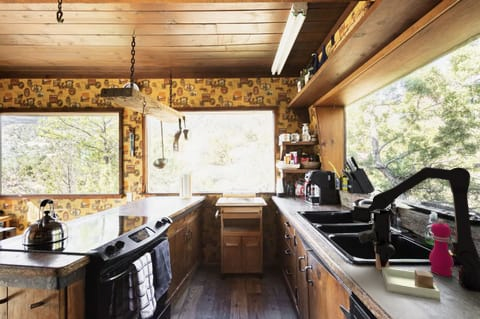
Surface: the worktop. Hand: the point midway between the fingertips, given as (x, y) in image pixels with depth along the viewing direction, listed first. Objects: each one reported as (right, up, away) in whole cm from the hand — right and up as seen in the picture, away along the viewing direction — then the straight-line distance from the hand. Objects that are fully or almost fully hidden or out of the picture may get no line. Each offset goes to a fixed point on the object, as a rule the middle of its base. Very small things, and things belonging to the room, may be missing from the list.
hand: (382, 265), depth 98 cm
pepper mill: (+20, -1, -4) cm, 20 cm away
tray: (+1, -1, -14) cm, 14 cm away
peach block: (0, -1, 0) cm, 1 cm away
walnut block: (+3, 0, -18) cm, 18 cm away
